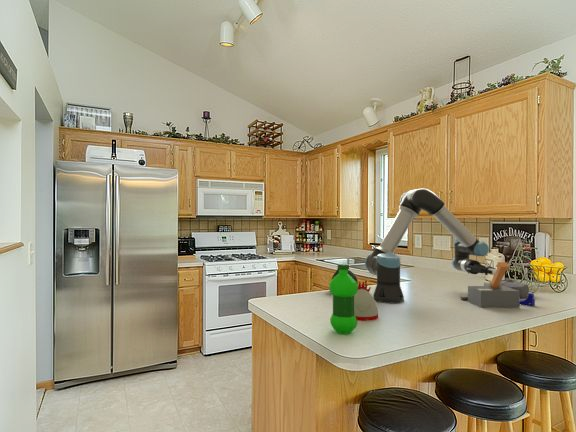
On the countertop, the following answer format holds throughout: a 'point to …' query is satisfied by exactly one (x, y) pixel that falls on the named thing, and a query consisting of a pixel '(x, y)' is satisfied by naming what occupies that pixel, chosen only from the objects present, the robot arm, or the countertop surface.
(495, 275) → the breaker lever
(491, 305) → the block
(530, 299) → the cable clip
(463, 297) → the cord bundle
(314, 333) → the countertop surface
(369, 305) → the grey dome with crown
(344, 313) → the plastic bottle
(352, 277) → the squash
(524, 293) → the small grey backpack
